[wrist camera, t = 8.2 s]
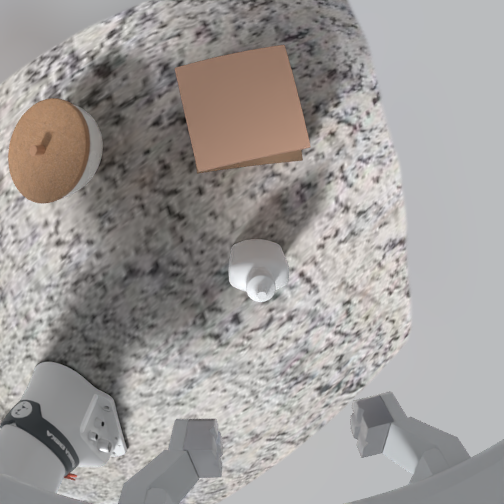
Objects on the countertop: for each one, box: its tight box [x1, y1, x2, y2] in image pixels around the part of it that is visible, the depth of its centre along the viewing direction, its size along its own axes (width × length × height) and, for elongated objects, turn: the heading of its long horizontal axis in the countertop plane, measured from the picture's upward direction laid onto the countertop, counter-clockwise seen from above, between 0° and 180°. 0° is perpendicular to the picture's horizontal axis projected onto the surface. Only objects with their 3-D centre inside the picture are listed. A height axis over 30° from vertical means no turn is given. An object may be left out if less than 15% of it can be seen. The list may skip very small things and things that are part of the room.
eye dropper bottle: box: [229, 239, 289, 302], centre depth 30 cm, size 4×6×12 cm
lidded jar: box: [8, 98, 103, 203], centre depth 27 cm, size 11×11×9 cm
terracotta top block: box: [175, 45, 310, 172], centre depth 25 cm, size 9×9×5 cm
